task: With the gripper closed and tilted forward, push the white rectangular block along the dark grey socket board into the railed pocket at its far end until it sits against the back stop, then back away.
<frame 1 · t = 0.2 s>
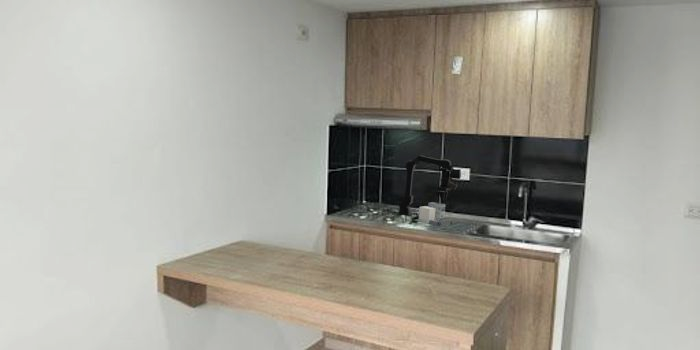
hand: (443, 200, 377), 15 cm above the counter, tool pointing down, fingers open, 9 cm apart
white rectangular block: (426, 220, 372), point 1 cm above the counter, touching socket board
light bulb box: (435, 218, 388), on the counter
socket board: (432, 223, 368), on the counter
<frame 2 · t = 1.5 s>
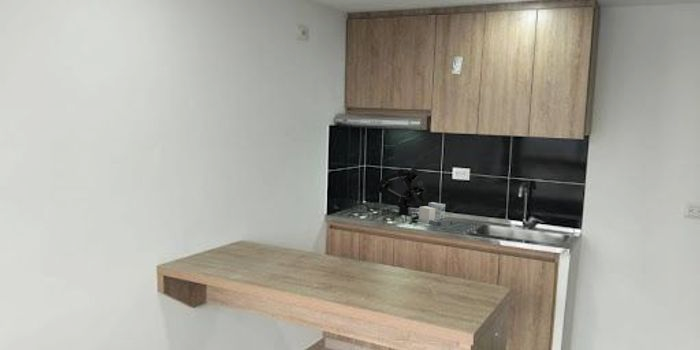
hand: (419, 202, 376), 12 cm above the counter, tool tilted 45°, fingers open, 7 cm apart
nothing on the counter moved.
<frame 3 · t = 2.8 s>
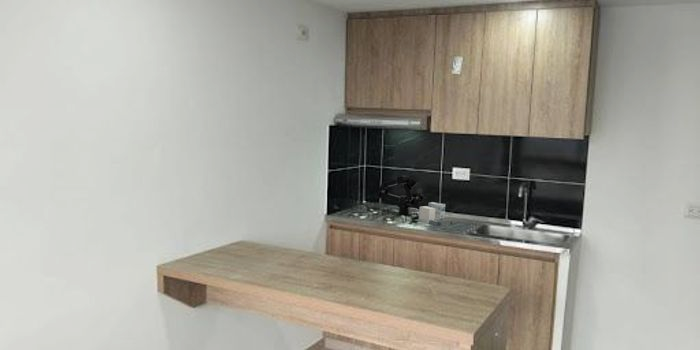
hand: (419, 209, 377), 8 cm above the counter, tool tilted 45°, fingers closed
nothing on the counter moved.
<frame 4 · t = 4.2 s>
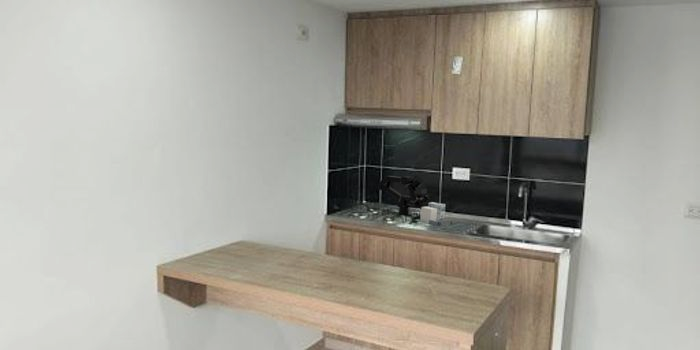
hand: (423, 209, 374), 8 cm above the counter, tool tilted 45°, fingers closed
white rectangular block: (428, 220, 371), point 1 cm above the counter, touching socket board
everything else where it was.
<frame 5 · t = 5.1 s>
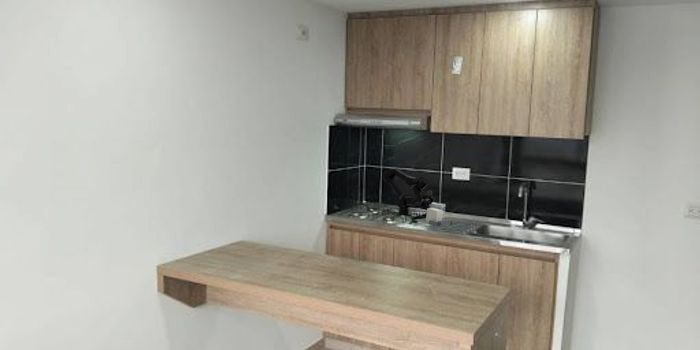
hand: (429, 211, 370), 8 cm above the counter, tool tilted 45°, fingers closed, pressing on white rectangular block
white rectangular block: (433, 222, 367), point 1 cm above the counter, touching gripper
everything else where it was.
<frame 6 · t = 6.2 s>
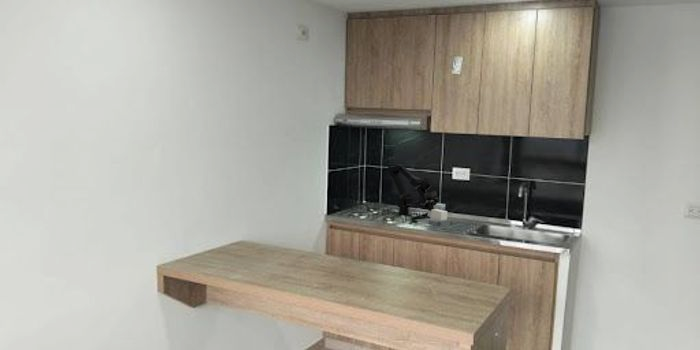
hand: (433, 212, 367), 8 cm above the counter, tool tilted 45°, fingers closed, pressing on white rectangular block
white rectangular block: (438, 223, 364), point 1 cm above the counter, touching gripper, socket board
everything else where it was.
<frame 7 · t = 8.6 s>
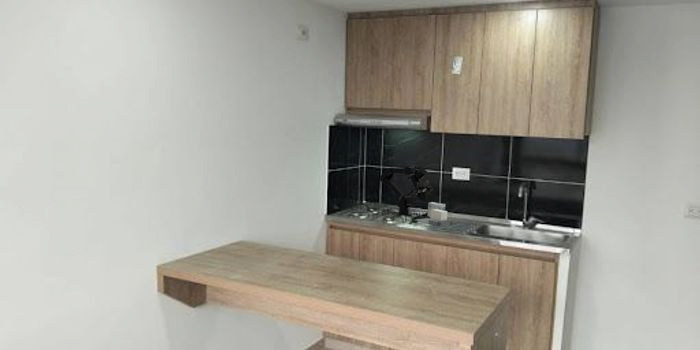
hand: (425, 201, 373), 13 cm above the counter, tool tilted 40°, fingers closed
white rectangular block: (438, 223, 364), point 1 cm above the counter, touching socket board
everything else where it was.
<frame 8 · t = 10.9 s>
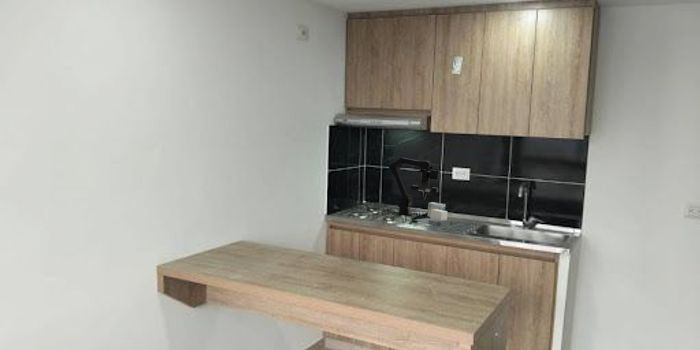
hand: (423, 200, 380), 13 cm above the counter, tool pointing down, fingers closed
nothing on the counter moved.
at the end: white rectangular block inside the target area (0.2 cm from its centre), point 1.0 cm above the counter; white rectangular block tilted 0° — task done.
